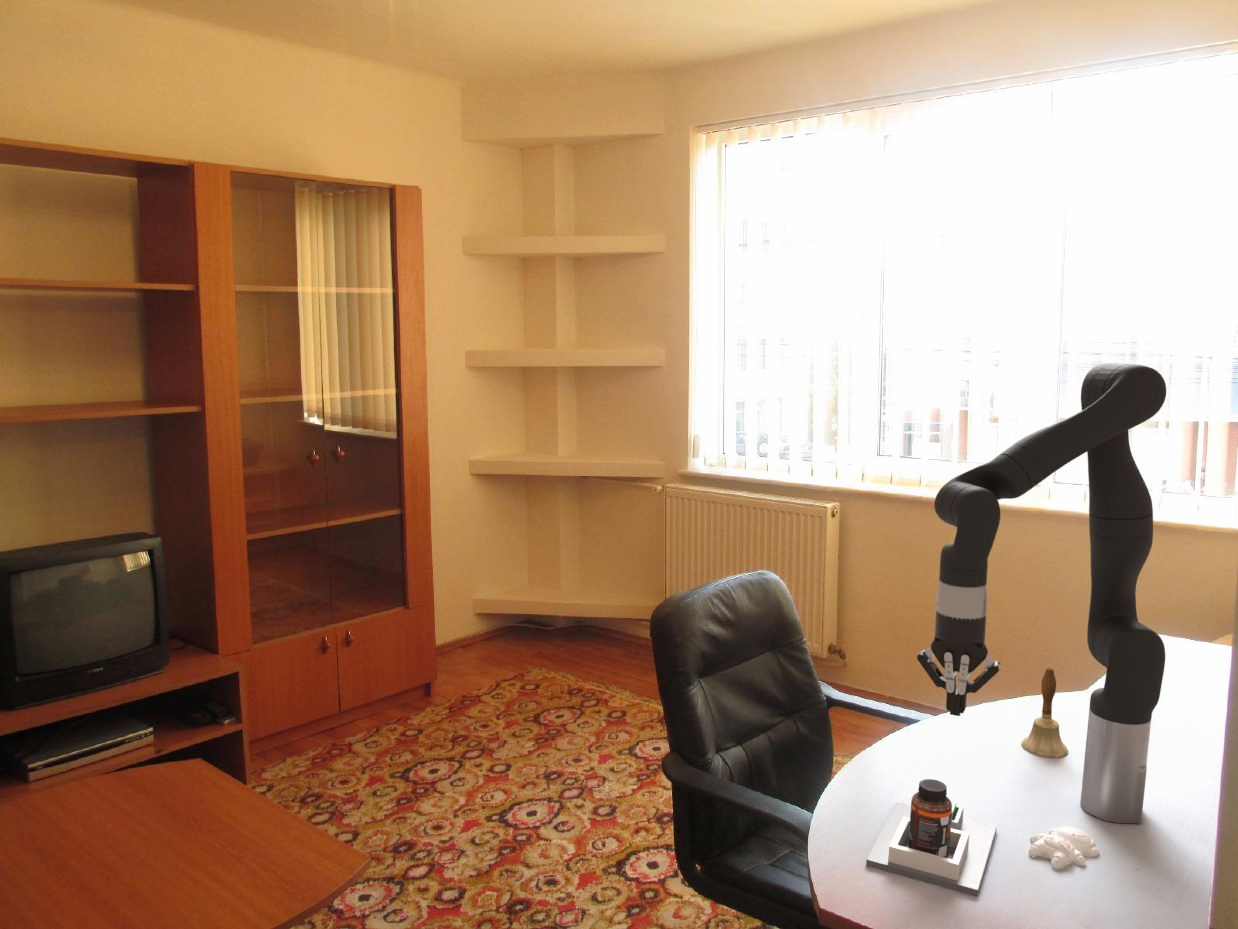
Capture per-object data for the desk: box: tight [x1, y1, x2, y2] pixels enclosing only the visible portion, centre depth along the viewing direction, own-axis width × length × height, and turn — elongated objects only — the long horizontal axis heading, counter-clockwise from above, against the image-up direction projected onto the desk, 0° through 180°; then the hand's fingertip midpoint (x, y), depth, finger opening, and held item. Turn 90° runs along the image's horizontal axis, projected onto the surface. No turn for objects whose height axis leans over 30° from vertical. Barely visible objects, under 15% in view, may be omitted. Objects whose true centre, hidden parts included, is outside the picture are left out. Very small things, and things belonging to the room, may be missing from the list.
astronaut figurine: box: [1028, 826, 1100, 870], centre depth 153 cm, size 9×12×3 cm
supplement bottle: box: [909, 778, 952, 858], centre depth 149 cm, size 6×6×11 cm
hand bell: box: [1020, 667, 1069, 759], centre depth 187 cm, size 8×8×16 cm
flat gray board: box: [865, 801, 998, 897], centre depth 153 cm, size 16×20×4 cm
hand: (955, 713), depth 156 cm, fingers closed
